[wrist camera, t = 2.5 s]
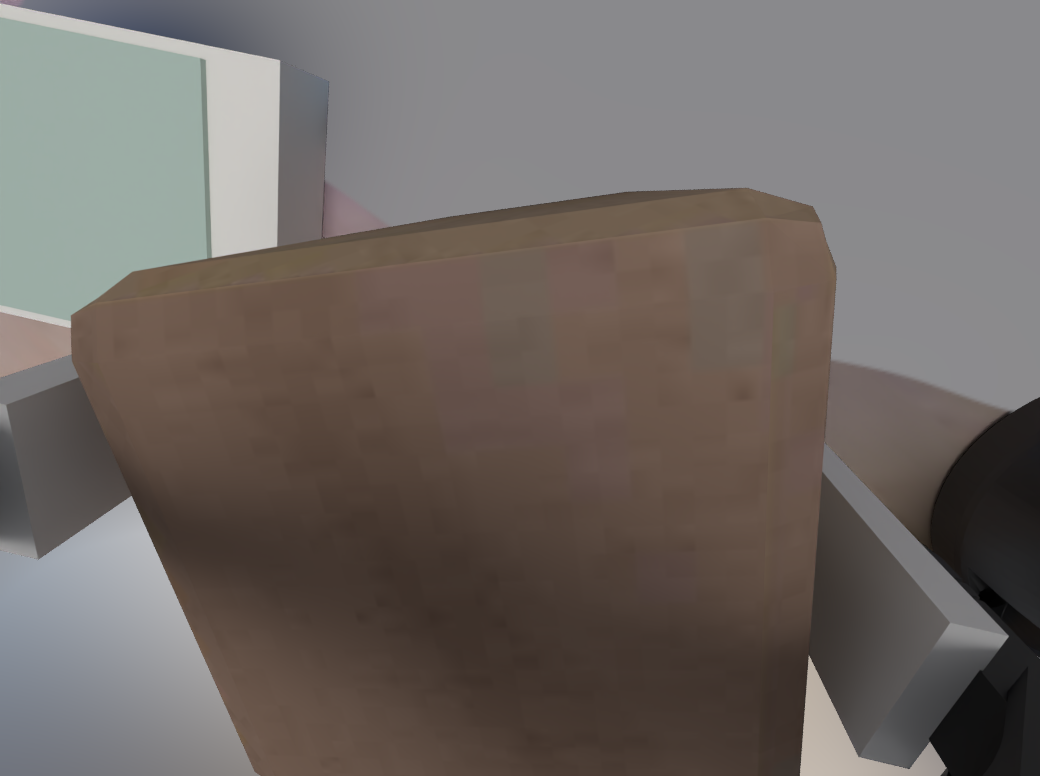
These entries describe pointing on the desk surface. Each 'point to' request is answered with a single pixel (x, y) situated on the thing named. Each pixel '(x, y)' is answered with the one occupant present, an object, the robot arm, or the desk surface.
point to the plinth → (143, 157)
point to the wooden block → (490, 483)
